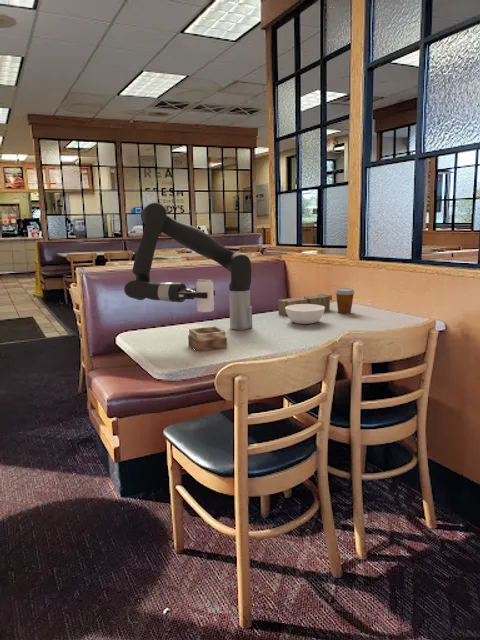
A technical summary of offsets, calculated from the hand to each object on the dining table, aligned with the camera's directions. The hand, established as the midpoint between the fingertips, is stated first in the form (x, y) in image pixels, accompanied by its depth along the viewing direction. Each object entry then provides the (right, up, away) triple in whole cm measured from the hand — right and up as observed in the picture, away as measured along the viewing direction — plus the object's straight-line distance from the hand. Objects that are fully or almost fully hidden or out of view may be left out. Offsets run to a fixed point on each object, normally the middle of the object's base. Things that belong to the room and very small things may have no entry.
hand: (210, 294), depth 184 cm
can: (-2, -7, +2) cm, 7 cm away
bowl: (+41, -11, +44) cm, 61 cm away
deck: (-2, -20, +5) cm, 21 cm away
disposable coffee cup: (+64, -6, +64) cm, 91 cm away
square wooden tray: (-2, -16, +4) cm, 17 cm away
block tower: (+45, -6, +69) cm, 83 cm away
